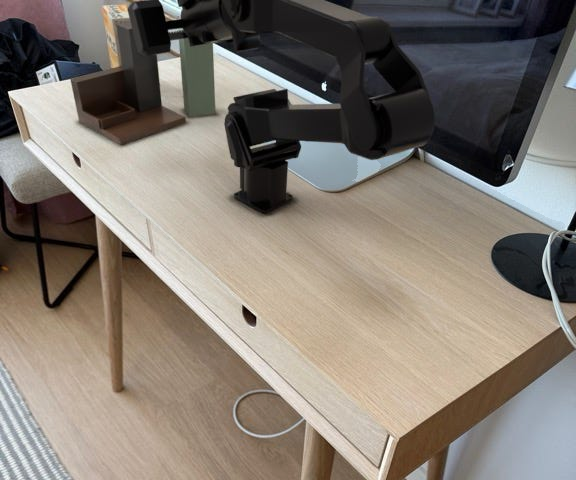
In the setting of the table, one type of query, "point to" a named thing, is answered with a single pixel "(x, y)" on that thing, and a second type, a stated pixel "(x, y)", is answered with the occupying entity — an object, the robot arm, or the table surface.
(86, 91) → the frame
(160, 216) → the table surface
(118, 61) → the supplement box
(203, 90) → the green upright block
